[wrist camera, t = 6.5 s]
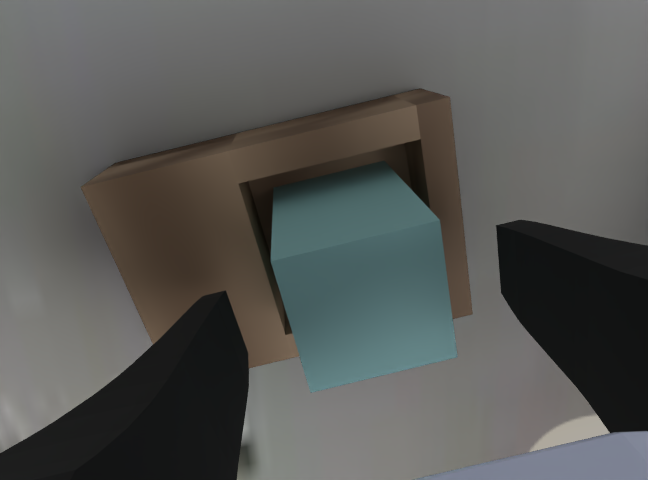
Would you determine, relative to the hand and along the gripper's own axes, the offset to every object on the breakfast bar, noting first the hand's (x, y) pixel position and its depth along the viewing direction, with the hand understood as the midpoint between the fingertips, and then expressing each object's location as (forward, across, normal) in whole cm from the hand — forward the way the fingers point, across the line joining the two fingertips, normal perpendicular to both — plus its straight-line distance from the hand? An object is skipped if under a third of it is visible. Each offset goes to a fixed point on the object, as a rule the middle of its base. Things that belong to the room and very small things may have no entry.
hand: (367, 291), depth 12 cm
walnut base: (+6, +2, 0) cm, 6 cm away
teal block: (+5, 0, 0) cm, 5 cm away
